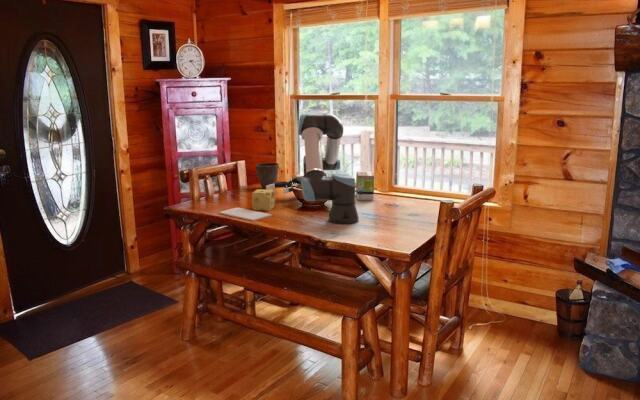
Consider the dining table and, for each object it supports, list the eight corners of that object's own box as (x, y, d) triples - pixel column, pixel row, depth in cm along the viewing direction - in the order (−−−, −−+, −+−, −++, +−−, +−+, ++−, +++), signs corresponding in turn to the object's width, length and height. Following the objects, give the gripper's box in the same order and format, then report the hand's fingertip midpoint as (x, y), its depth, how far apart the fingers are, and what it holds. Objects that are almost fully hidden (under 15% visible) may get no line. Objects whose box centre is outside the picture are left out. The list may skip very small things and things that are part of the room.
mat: (271, 215, 271) (271, 214, 271) (253, 221, 261) (253, 219, 261) (237, 208, 287) (237, 207, 286) (219, 213, 277) (219, 212, 276)
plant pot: (251, 189, 338) (250, 164, 334) (268, 185, 349) (267, 161, 345) (267, 192, 329) (266, 167, 325) (284, 188, 340) (283, 164, 336)
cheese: (270, 211, 281) (269, 193, 279) (251, 210, 283) (250, 192, 281) (275, 206, 291) (275, 189, 289) (257, 205, 293) (256, 188, 291)
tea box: (374, 200, 305) (374, 175, 301) (357, 200, 305) (357, 175, 301) (372, 194, 319) (372, 170, 316) (355, 194, 319) (355, 171, 316)
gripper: (315, 192, 303) (292, 199, 286) (284, 186, 318) (259, 193, 301) (315, 179, 301) (291, 185, 285) (283, 174, 316) (259, 180, 300)
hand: (275, 189), depth 293 cm, fingers open, 13 cm apart
